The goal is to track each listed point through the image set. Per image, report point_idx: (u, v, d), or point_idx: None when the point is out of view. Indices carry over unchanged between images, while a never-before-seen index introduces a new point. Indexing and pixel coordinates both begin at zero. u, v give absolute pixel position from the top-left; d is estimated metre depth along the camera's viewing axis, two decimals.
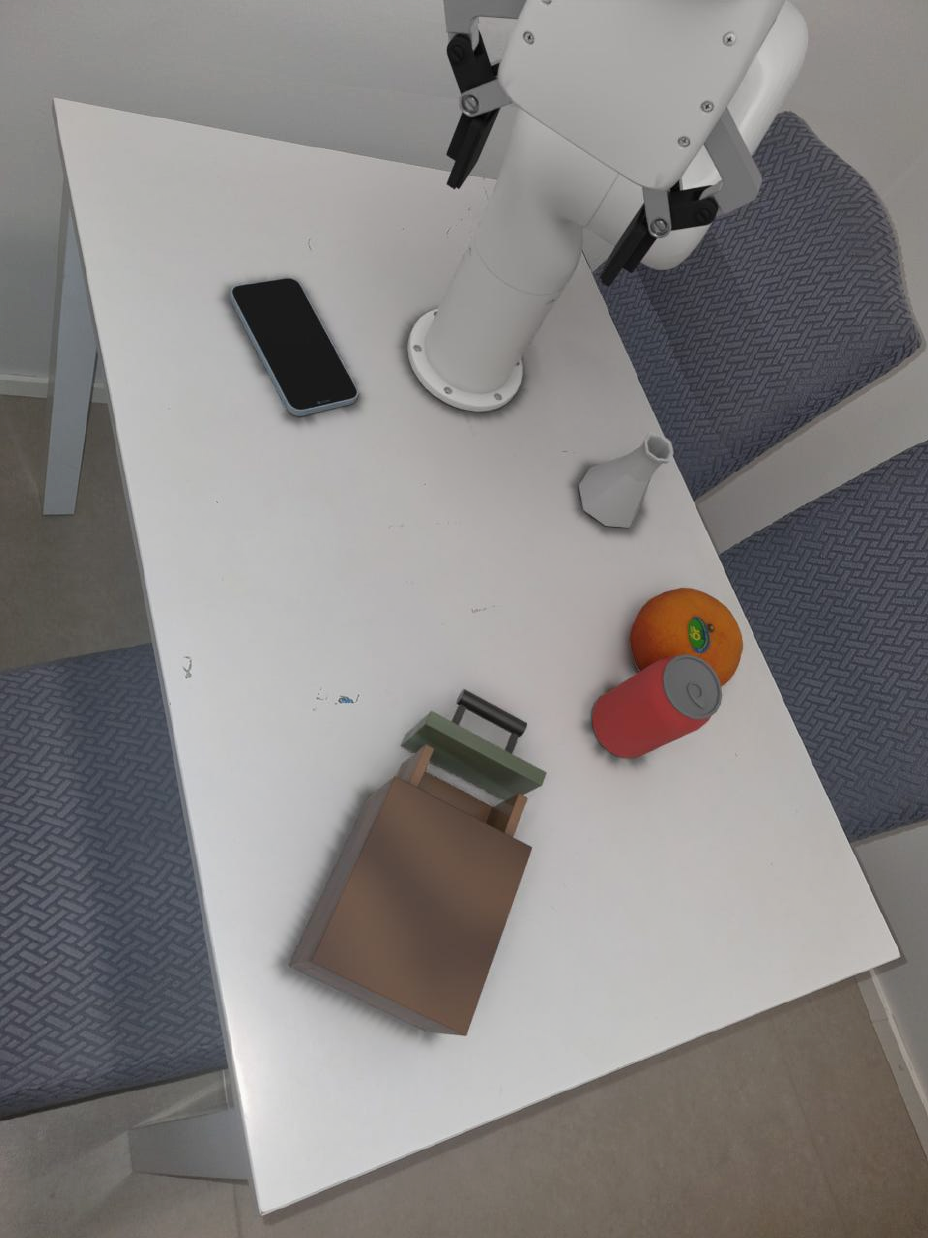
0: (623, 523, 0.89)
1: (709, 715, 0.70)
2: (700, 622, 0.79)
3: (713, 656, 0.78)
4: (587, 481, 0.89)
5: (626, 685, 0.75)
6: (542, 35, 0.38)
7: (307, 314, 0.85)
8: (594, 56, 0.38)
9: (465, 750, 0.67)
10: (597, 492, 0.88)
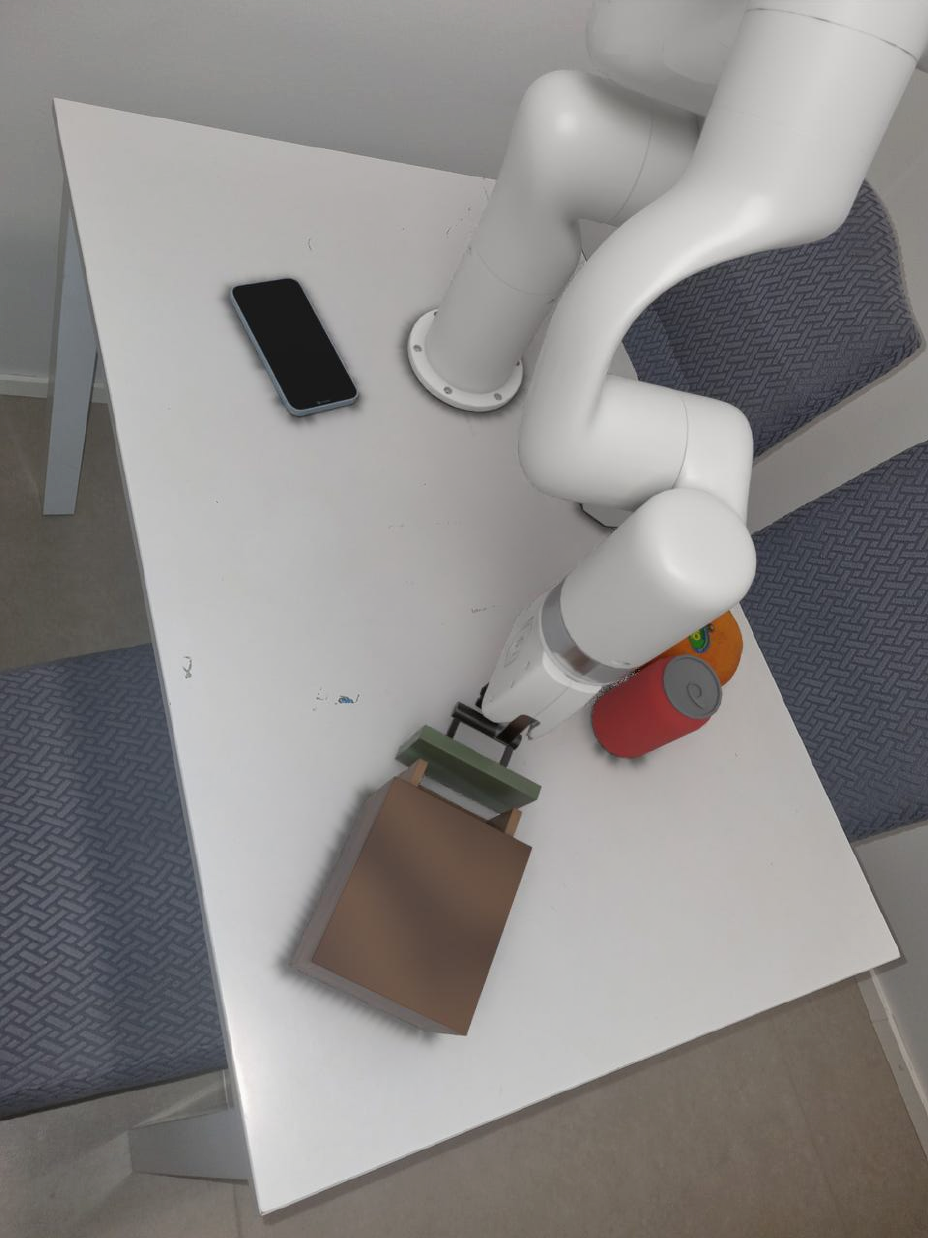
0: None
1: (709, 715, 0.70)
2: None
3: (713, 656, 0.78)
4: None
5: (626, 685, 0.75)
6: None
7: (307, 314, 0.85)
8: None
9: (459, 764, 0.66)
10: None
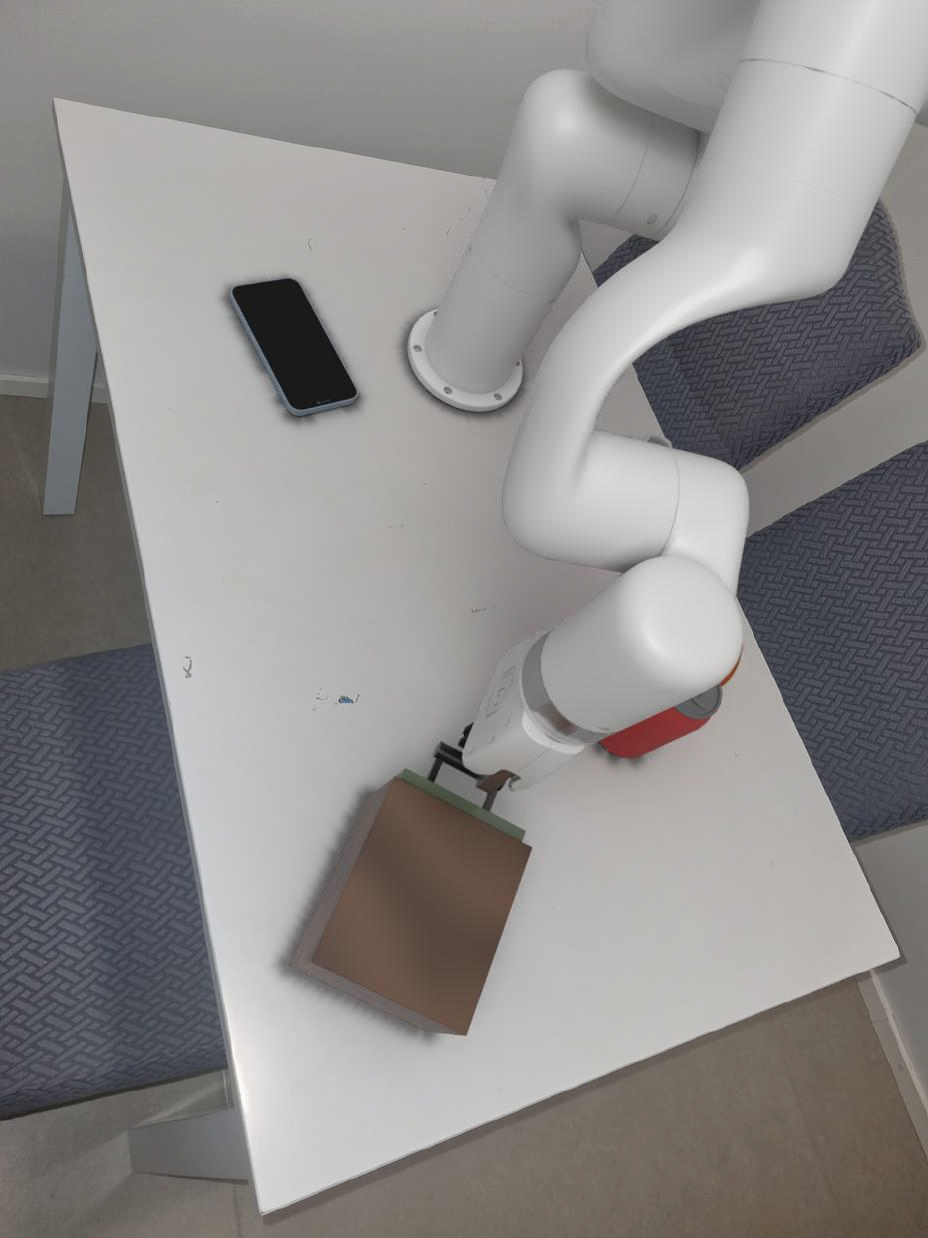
0: None
1: (709, 715, 0.70)
2: None
3: None
4: None
5: None
6: None
7: (307, 314, 0.85)
8: None
9: None
10: None
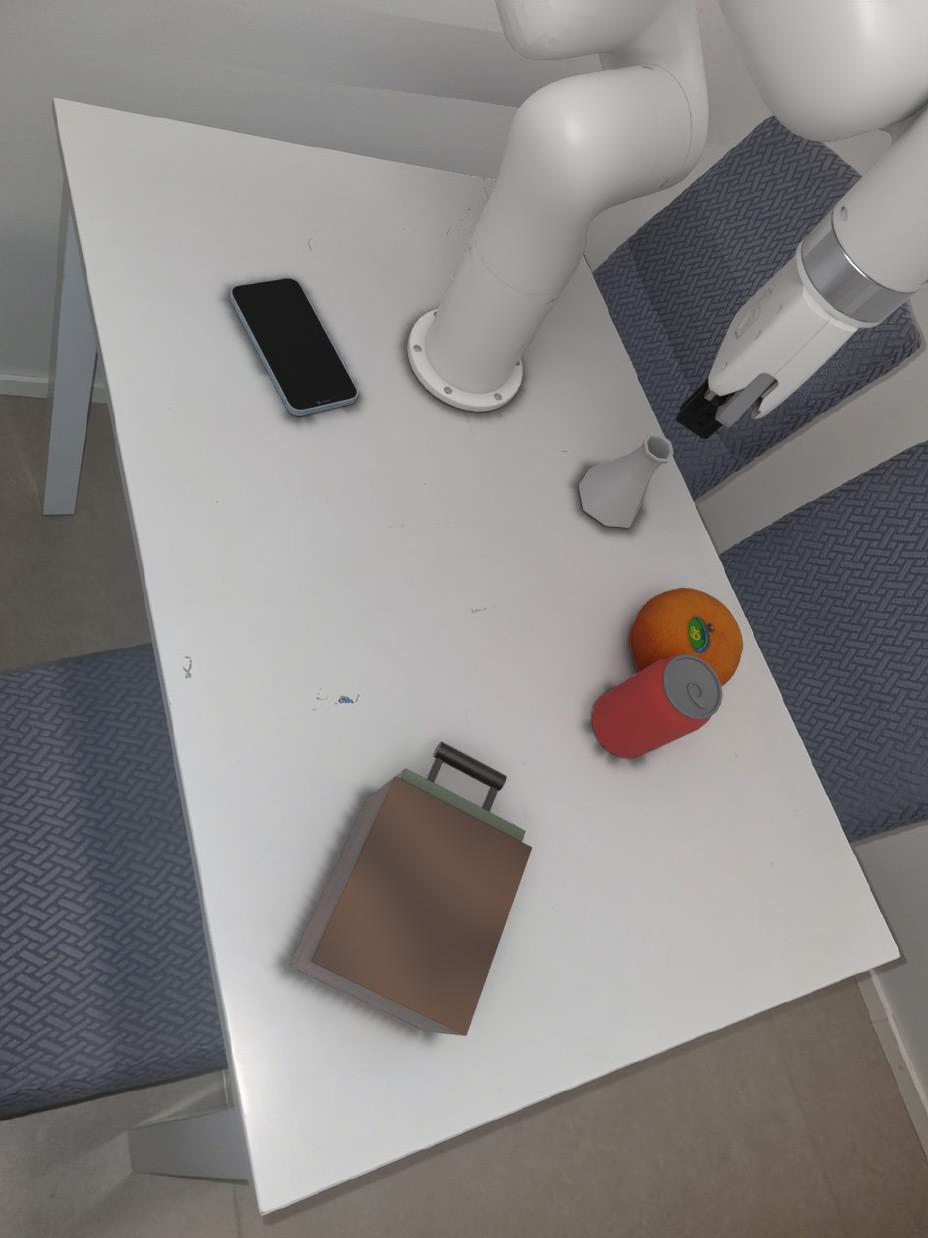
0: (623, 523, 0.89)
1: (709, 715, 0.70)
2: (700, 622, 0.79)
3: (713, 656, 0.78)
4: (587, 481, 0.89)
5: (626, 685, 0.75)
6: None
7: (307, 314, 0.85)
8: None
9: None
10: (597, 492, 0.88)
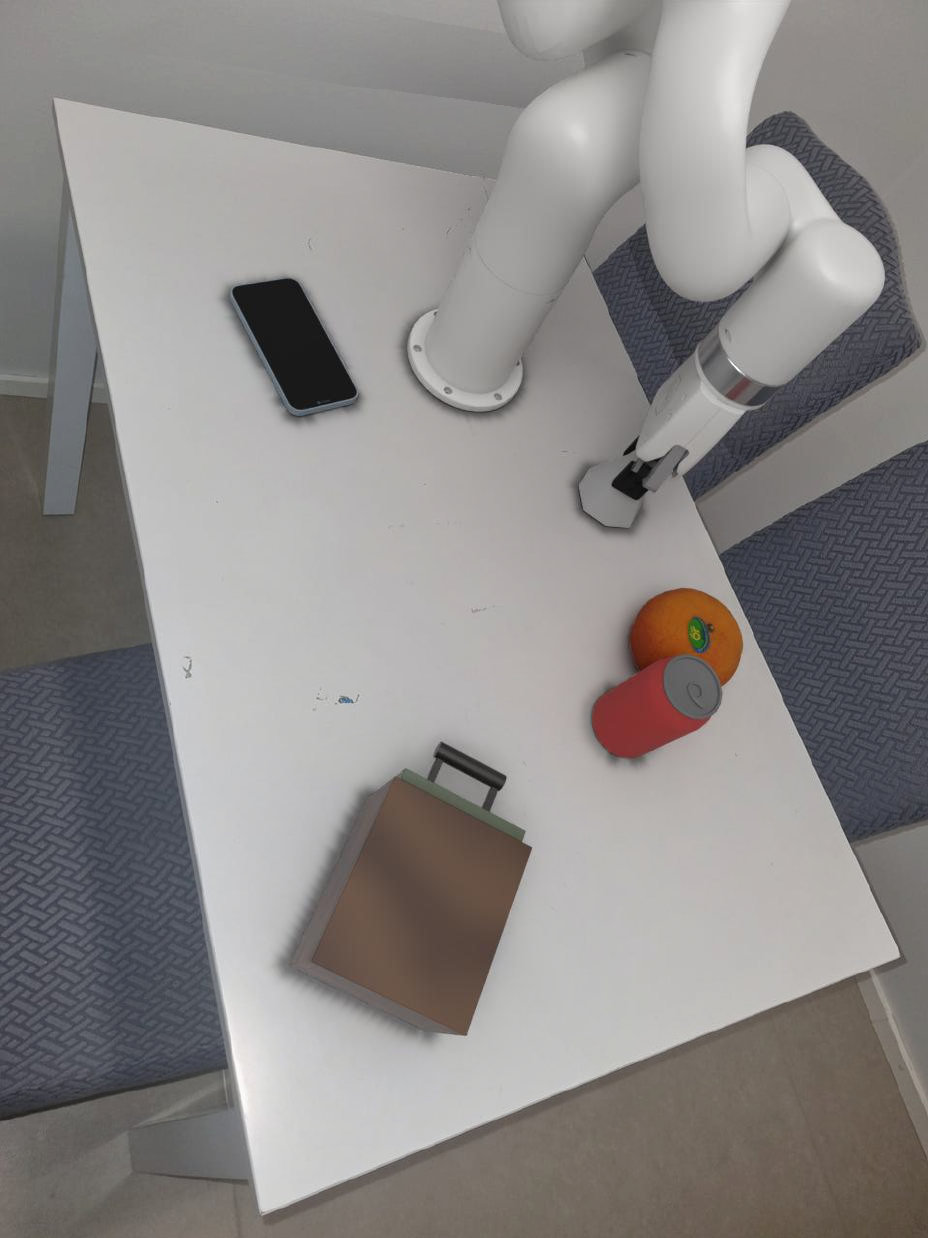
0: (623, 523, 0.89)
1: (709, 715, 0.70)
2: (700, 622, 0.79)
3: (713, 656, 0.78)
4: (587, 481, 0.89)
5: (626, 685, 0.75)
6: None
7: (307, 314, 0.85)
8: None
9: None
10: (597, 492, 0.88)
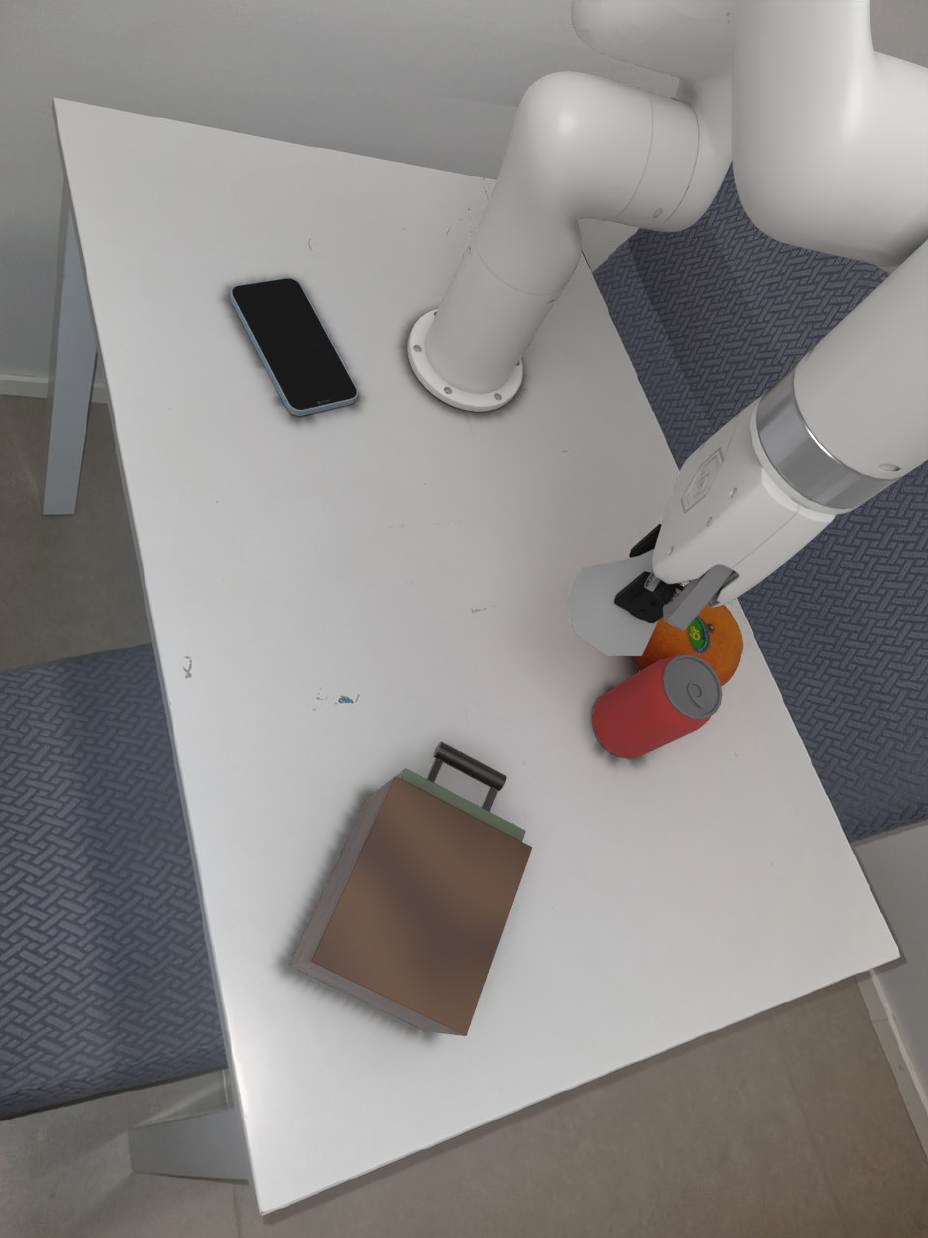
0: (633, 651, 0.61)
1: (709, 715, 0.70)
2: (700, 622, 0.79)
3: (713, 656, 0.78)
4: (579, 591, 0.61)
5: (626, 685, 0.75)
6: None
7: (307, 314, 0.85)
8: None
9: None
10: (593, 609, 0.60)
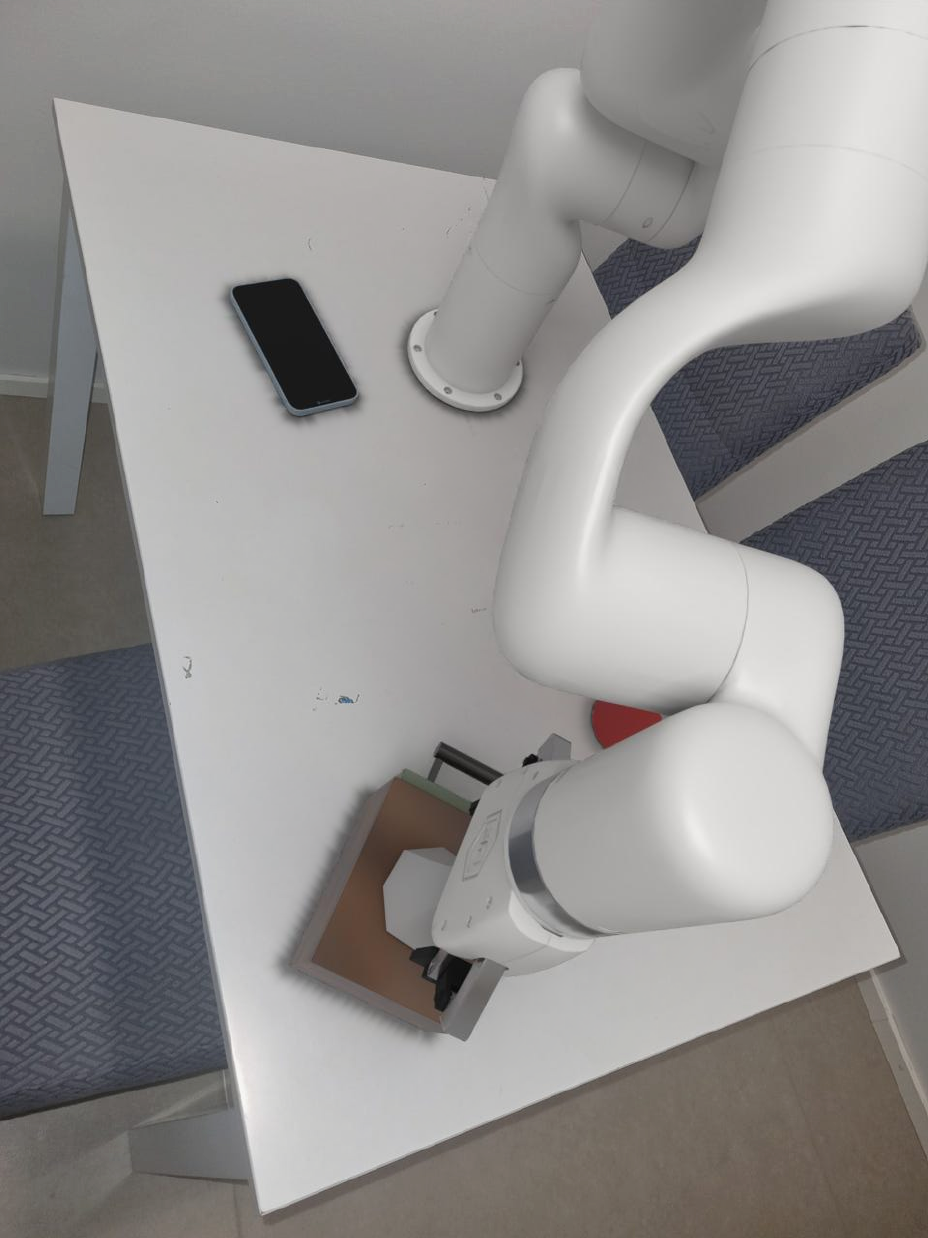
0: None
1: None
2: None
3: None
4: (393, 886, 0.58)
5: None
6: None
7: (307, 314, 0.85)
8: None
9: None
10: (404, 912, 0.57)
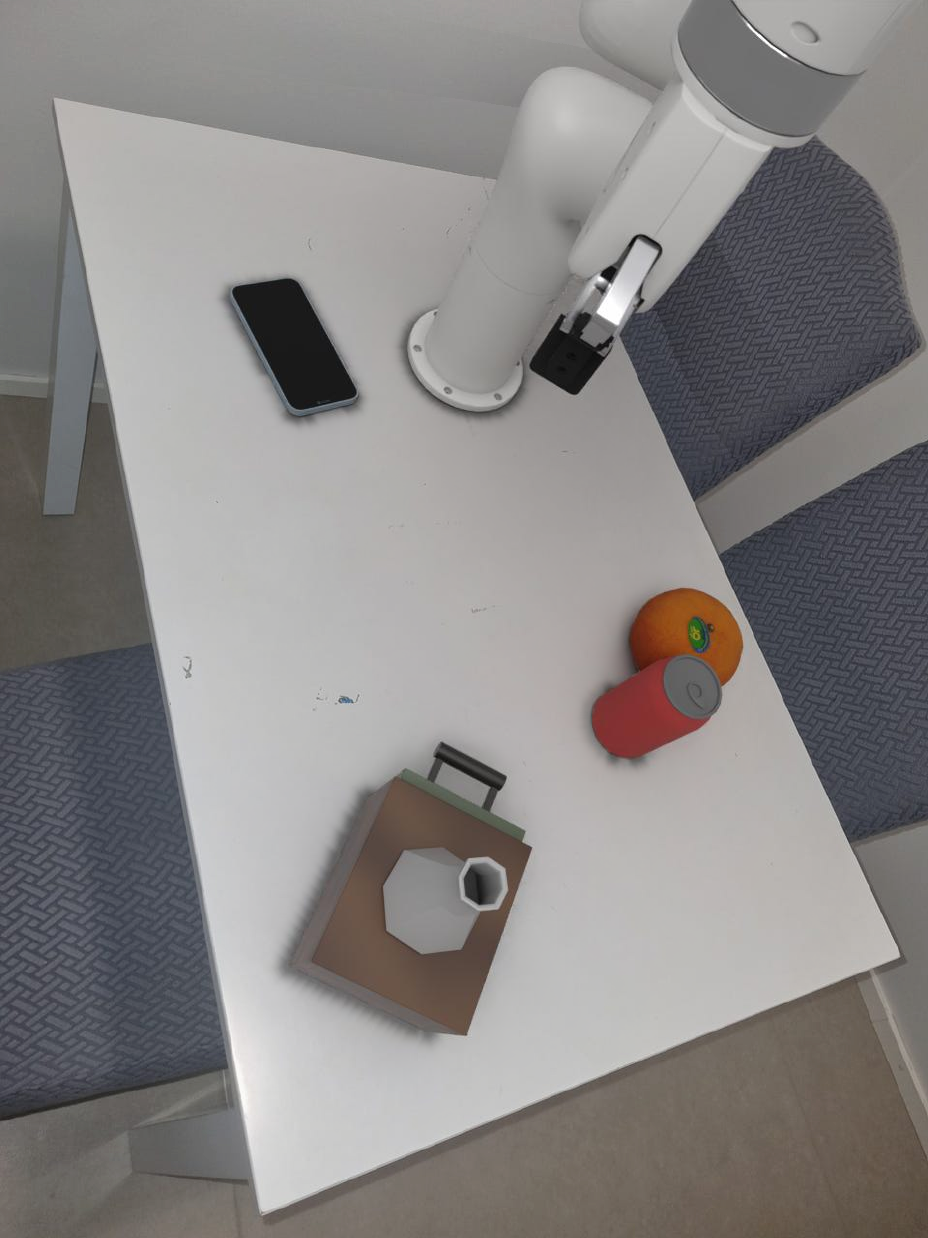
0: (450, 948, 0.58)
1: (709, 715, 0.70)
2: (700, 622, 0.79)
3: (713, 656, 0.78)
4: (393, 886, 0.58)
5: (626, 685, 0.75)
6: None
7: (307, 314, 0.85)
8: None
9: None
10: (404, 912, 0.57)
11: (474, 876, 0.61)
